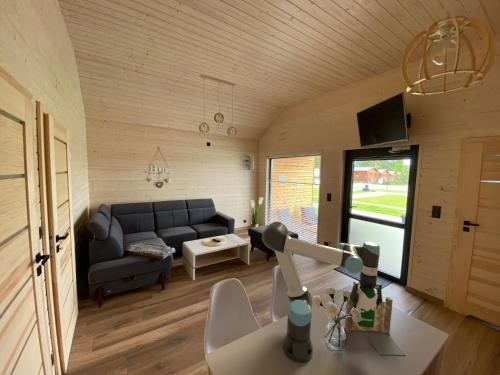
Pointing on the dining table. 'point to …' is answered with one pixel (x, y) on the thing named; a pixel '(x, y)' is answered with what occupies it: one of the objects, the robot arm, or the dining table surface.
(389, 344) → the keeper pad
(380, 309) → the door
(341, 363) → the dining table surface
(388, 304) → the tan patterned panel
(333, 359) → the dining table surface
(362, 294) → the soya milk
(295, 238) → the robot arm
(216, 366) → the dining table surface
